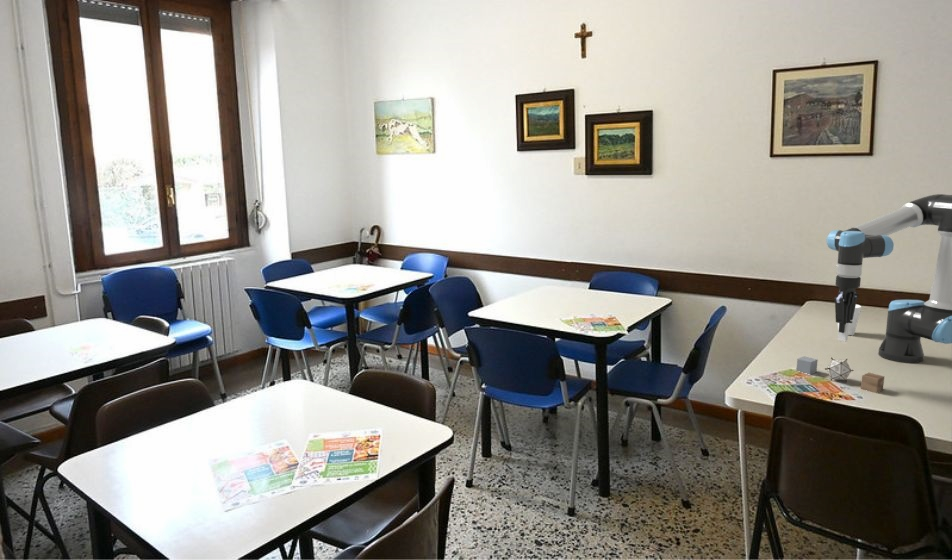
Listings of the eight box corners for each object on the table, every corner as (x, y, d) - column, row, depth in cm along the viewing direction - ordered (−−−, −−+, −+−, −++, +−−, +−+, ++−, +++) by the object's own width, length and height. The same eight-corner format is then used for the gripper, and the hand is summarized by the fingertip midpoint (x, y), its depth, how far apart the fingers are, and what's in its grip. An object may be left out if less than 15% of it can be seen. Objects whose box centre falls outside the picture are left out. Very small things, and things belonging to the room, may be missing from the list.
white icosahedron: (839, 388, 238) (856, 366, 238) (844, 388, 230) (862, 365, 230) (816, 373, 241) (833, 351, 241) (820, 372, 233) (838, 350, 233)
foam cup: (862, 336, 289) (865, 307, 286) (841, 336, 289) (844, 308, 287) (850, 330, 298) (853, 302, 296) (830, 330, 298) (832, 303, 296)
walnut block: (867, 385, 231) (869, 372, 230) (882, 390, 227) (884, 376, 226) (860, 389, 228) (862, 375, 227) (876, 393, 224) (877, 379, 223)
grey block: (803, 368, 249) (804, 356, 248) (816, 372, 245) (817, 359, 244) (796, 371, 246) (797, 358, 245) (809, 375, 242) (810, 362, 241)
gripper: (846, 271, 235) (840, 335, 240) (828, 276, 228) (822, 341, 233) (868, 274, 229) (862, 339, 234) (850, 279, 222) (844, 346, 227)
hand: (842, 340), depth 233 cm, fingers closed
